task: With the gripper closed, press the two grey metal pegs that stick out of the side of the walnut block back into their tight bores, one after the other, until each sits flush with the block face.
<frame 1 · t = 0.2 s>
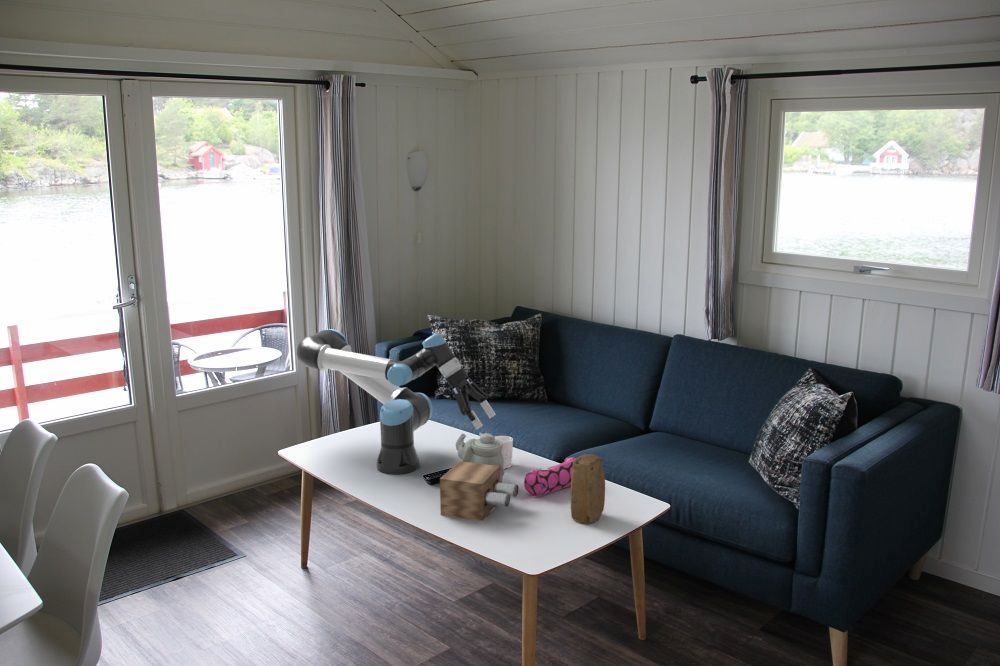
hand: (486, 422, 309), 16 cm above the table, tool tilted 35°, fingers open, 13 cm apart
white cup: (502, 466, 310), on the table
pencil case: (554, 490, 289), on the table
teapot: (479, 483, 294), on the table
far peg: (495, 488, 274), point 6 cm above the table, slide at 0.0 cm
walnut block: (470, 507, 274), on the table
near peg: (487, 497, 267), point 6 cm above the table, slide at 0.0 cm
block: (588, 518, 266), on the table
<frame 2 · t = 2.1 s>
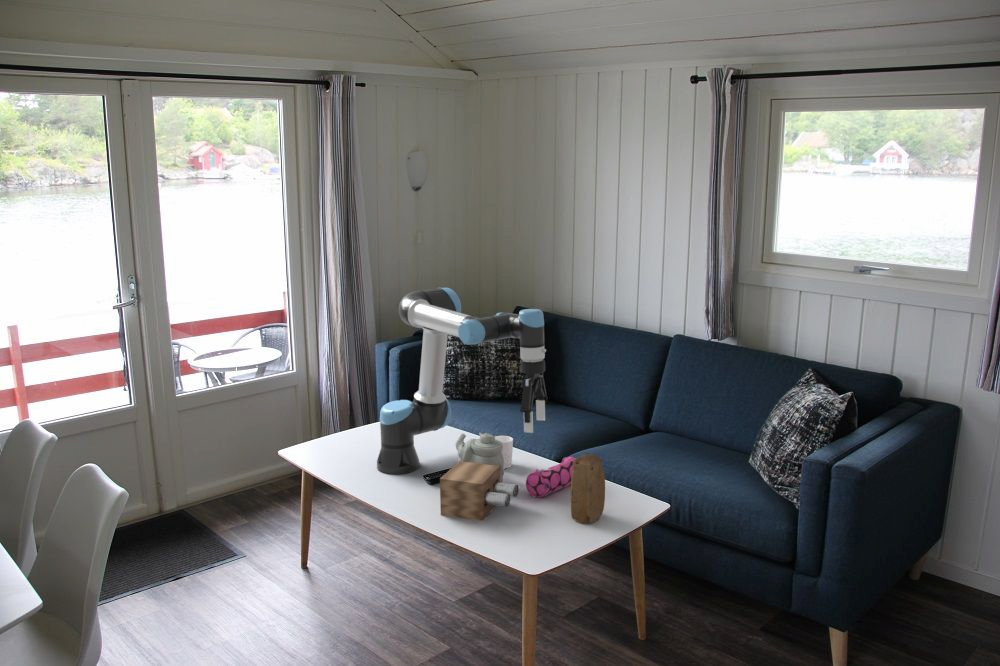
hand: (534, 426, 269), 27 cm above the table, tool pointing down, fingers open, 13 cm apart
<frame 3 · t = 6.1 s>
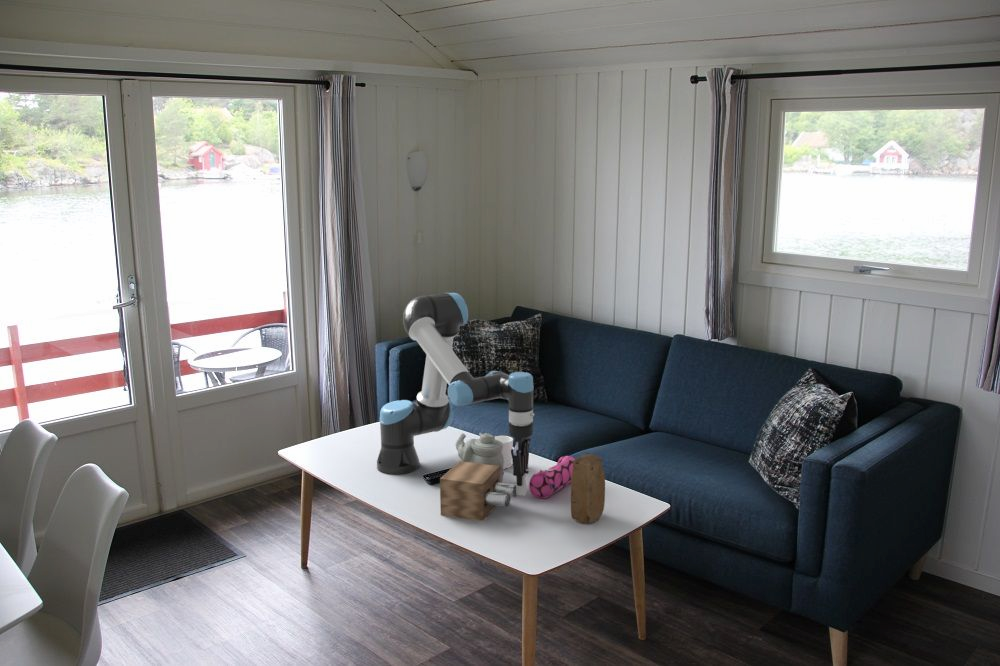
hand: (520, 493, 272), 5 cm above the table, tool pointing down, fingers closed
far peg: (495, 488, 274), point 6 cm above the table, slide at 0.2 cm, touching gripper
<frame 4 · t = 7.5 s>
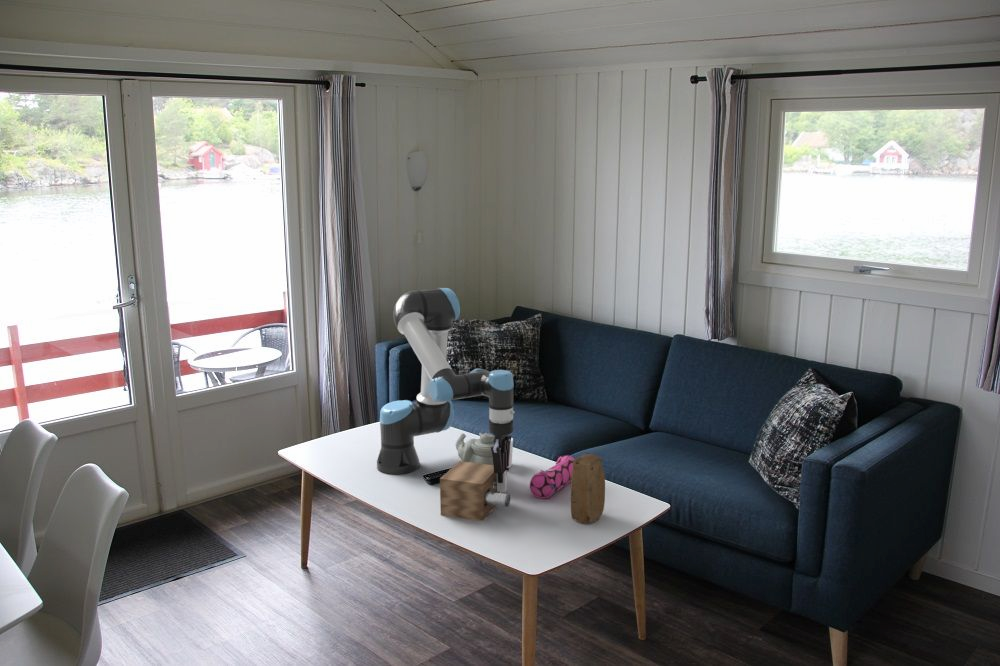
hand: (501, 490, 274), 5 cm above the table, tool pointing down, fingers closed
far peg: (476, 485, 276), point 6 cm above the table, slide at 6.6 cm, touching gripper
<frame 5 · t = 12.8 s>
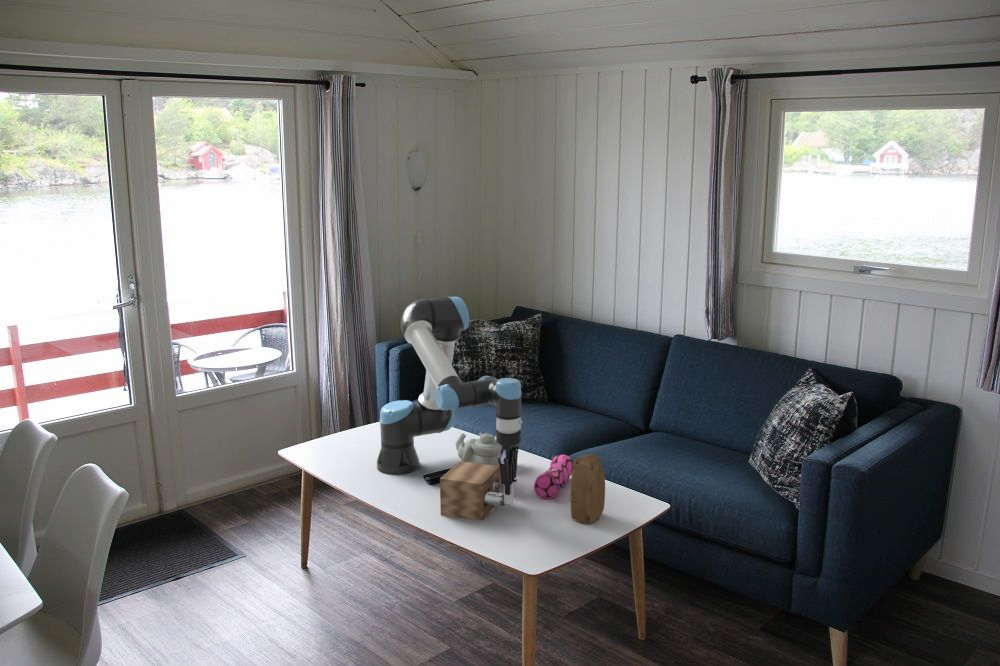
hand: (508, 503, 265), 5 cm above the table, tool pointing down, fingers closed
far peg: (476, 485, 276), point 6 cm above the table, slide at 6.7 cm
near peg: (482, 497, 267), point 6 cm above the table, slide at 1.4 cm, touching gripper
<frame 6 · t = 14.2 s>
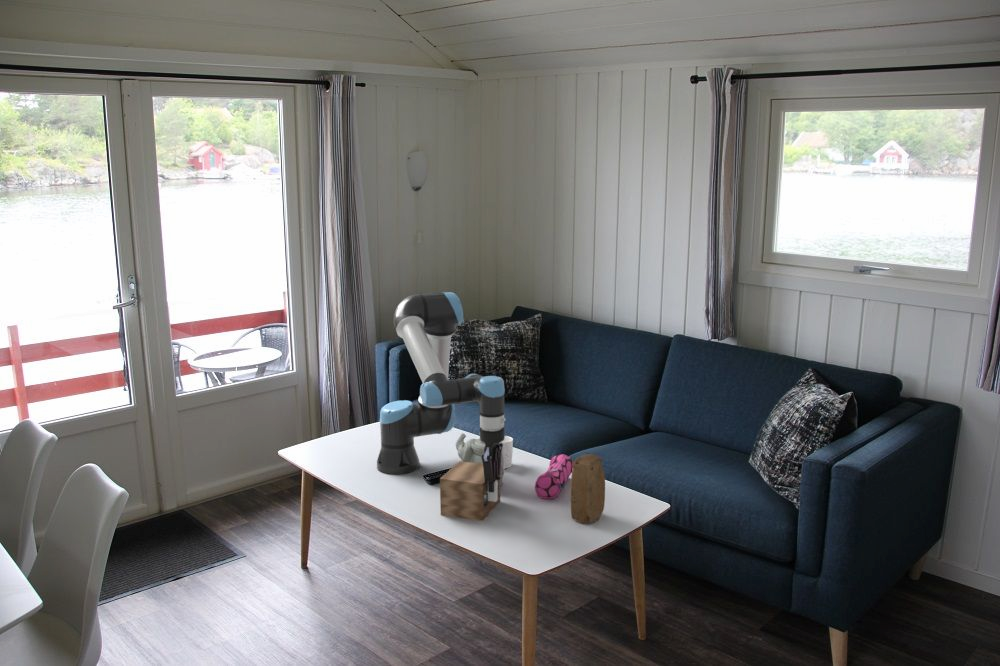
hand: (492, 500, 266), 5 cm above the table, tool pointing down, fingers closed
near peg: (467, 495, 269), point 6 cm above the table, slide at 6.6 cm, touching gripper
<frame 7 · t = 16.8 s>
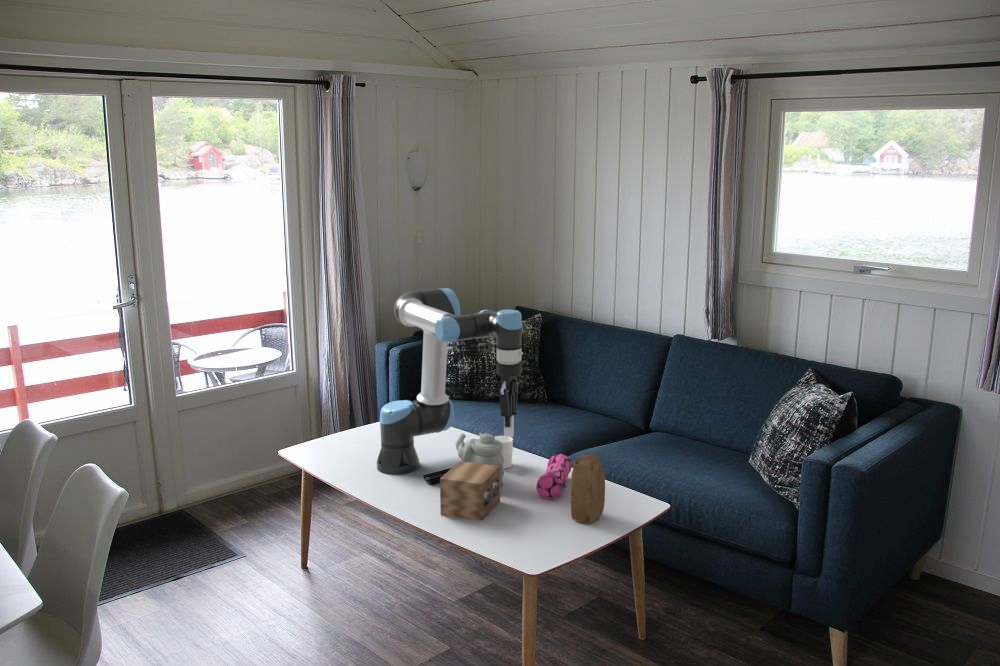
hand: (508, 435, 265), 25 cm above the table, tool pointing down, fingers closed
near peg: (467, 495, 269), point 6 cm above the table, slide at 6.6 cm
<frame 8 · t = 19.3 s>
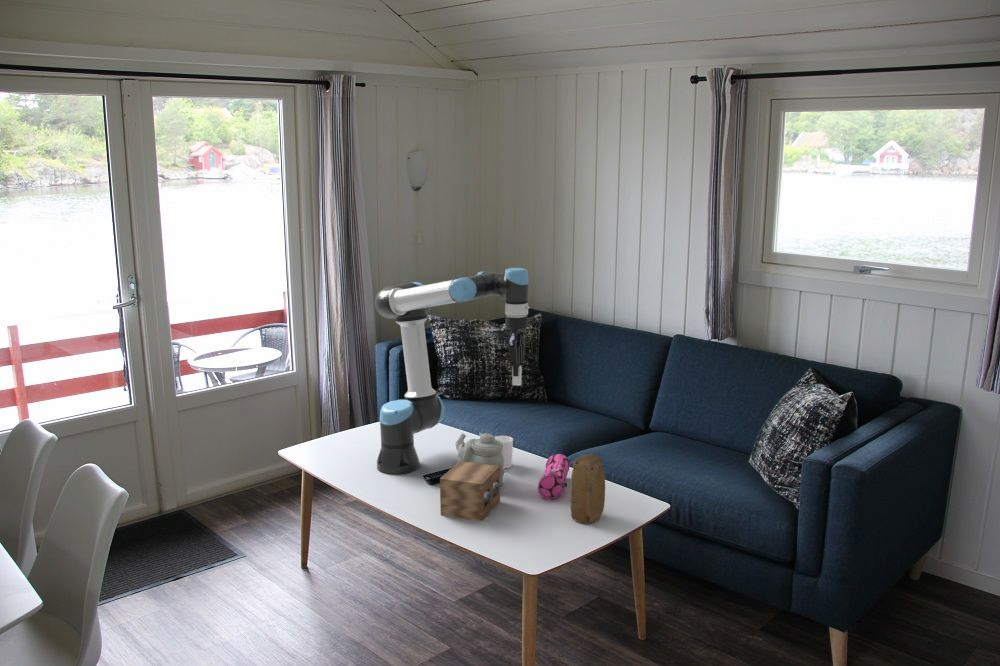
hand: (516, 384, 288), 34 cm above the table, tool pointing down, fingers closed
at the end: far peg slide at 6.7 cm; near peg slide at 6.6 cm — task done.
